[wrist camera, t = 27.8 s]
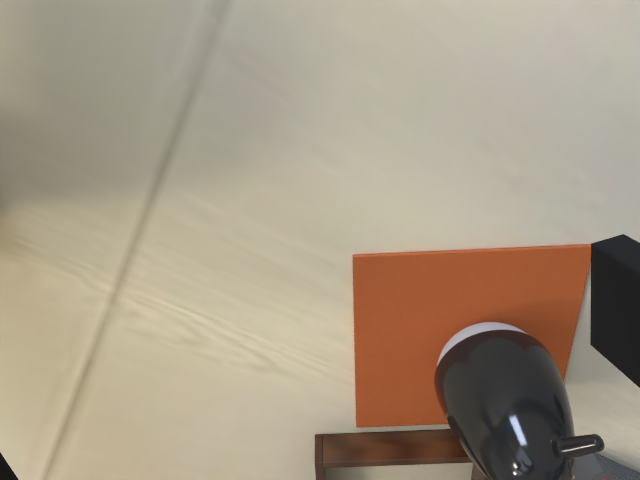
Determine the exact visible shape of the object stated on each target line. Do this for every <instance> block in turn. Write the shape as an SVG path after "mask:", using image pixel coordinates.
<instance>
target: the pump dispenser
mask: <svg viewBox="0 0 640 480" xmlns="http://www.w3.org/2000/svg"><path fill="white" fill-rule="evenodd" d="M434 388H435V393H436V396H437V399H438V402H439V405H440V407H441V409H442V412H443V414H444V416H445V418H446V420H447V422H448V424H449V426H450V428H451V430H452V432H453V434H454V435H455V437H456V439H457V440H458V442H459V443H460V445H461V446H462V448H463V449H464V451H465V452H466V454H467V455H468V456H469V458H470V459H471V460H472V461H473V463H474V464H475V465H476V466H477V468H478V469H479V470H480V471H481V472H482V473H483V474H484V476H485V477H486V478H487V479H488V480H572V479H573V475H574V470H575V462H576V458H577V457H581V456H585V455H588V454H592V453H596V452H599V451H602V450H603V449H604V442H603V440H602V438H601V437H600V436H599V435H597V434H591V435H583V436H575V433H574V425H573V418H572V413H571V408H570V404H569V400H568V396H567V393H566V390H565V387H564V384H563V381H562V378H561V376H560V373H559V371H558V368H557V366H556V364H555V362H554V360H553V358H552V356H551V354H550V353H549V351H548V350H547V348H546V347H545V346H544V345H543V344H542V343H541V342H540V341H539V340H537V339H536V338H534V337H532V336H530V335H528V334H527V333H525V332H524V331H522V330H520V329H518V328H516V327H514V326H511V325H508V324H504V323H498V322H484V323H478V324H474V325H471V326H469V327H466V328H464V329H462V330H461V331H459V332H458V333H456V334H455V335H454V336H453V337H452V338H451V339H450V340H449V341H448V342H447V343H446V345H445V346H444V348H443V350H442V352H441V354H440V357H439V359H438V364H437V368H436V371H435V375H434Z"/></svg>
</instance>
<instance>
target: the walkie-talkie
mask: <svg viewBox="0 0 640 480" xmlns="http://www.w3.org/2000/svg"><path fill="white" fill-rule="evenodd" d="M572 480H640V473H637V472H635V471H633V470H630V469H628V468H626V467H623V466H622V465H619V464H617V463H615V462H612V461H611V460H608V459H607V458H604V457H601V456H600V455H597V454H596V453H592V454H588V455H585V456H581V457H578V458H577V459H576V462H575V470H574V475H573V479H572Z"/></svg>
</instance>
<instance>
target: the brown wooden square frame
mask: <svg viewBox="0 0 640 480" xmlns="http://www.w3.org/2000/svg"><path fill="white" fill-rule="evenodd" d="M469 462H473V461H472V460H471V459H470V458H469V456H468V455H467V454H466V452H465V451H464V449H463V448H462V446H461V445H460V443H459V442H458V440H457V439H456V437H455V435H454V434H453V432H452V430H425V431H399V432H373V433H347V434H323V435H322V434H321V435H315V472H316V480H326V479H325V468H335V467H362V466H389V465H416V464H443V463H469ZM471 480H488V479H487V478H486V477H485V476H484V474H483V473H482V472H481V471H480V470H479V469H478V468H477V466H476V465H475V464H474V463H473V470H472V477H471Z"/></svg>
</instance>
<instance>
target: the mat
mask: <svg viewBox="0 0 640 480" xmlns="http://www.w3.org/2000/svg"><path fill="white" fill-rule="evenodd" d="M590 261H591V245H568V246H546V247H523V248H501V249H478V250H456V251H433V252H410V253H388V254H365V255H353V294H354V341H355V388H356V427H379V426H405V425H431V424H448V422H447V420H446V418H445V416H444V414H443V412H442V409H441V407H440V405H439V402H438V399H437V396H436V393H435V388H434V375H435V371H436V368H437V364H438V359H439V357H440V354H441V352H442V350H443V348H444V346H445V345H446V343H447V342H448V341H449V340H450V339H451V338H452V337H453V336H454V335H455V334H456V333H458V332H459V331H461V330H462V329H464V328H466V327H469V326H471V325H474V324H478V323H484V322H498V323H504V324H508V325H511V326H514V327H516V328H518V329H520V330H522V331H524V332H525V333H527V334H528V335H530V336H532V337H534V338H536V339H537V340H539V341H540V342H541V343H542V344H543V345H544V346H545V347H546V348H547V350H548V351H549V353H550V354H551V356H552V358H553V360H554V362H555V364H556V366H557V368H558V371H559V373H560V376H561V378H562V381H563V380H564V376H565V371H566V367H567V362H568V358H569V354H570V349H571V345H572V340H573V336H574V332H575V327H576V323H577V319H578V314H579V310H580V305H581V301H582V297H583V292H584V288H585V283H586V279H587V275H588V270H589V266H590Z"/></svg>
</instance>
